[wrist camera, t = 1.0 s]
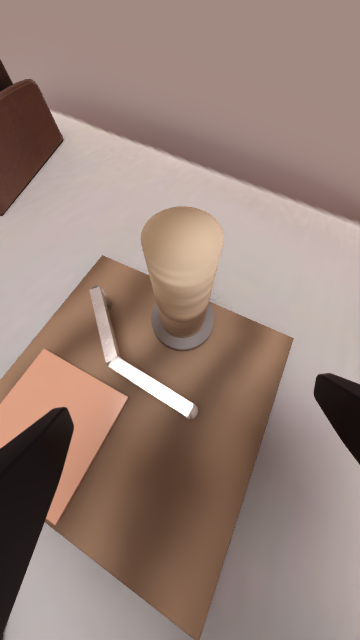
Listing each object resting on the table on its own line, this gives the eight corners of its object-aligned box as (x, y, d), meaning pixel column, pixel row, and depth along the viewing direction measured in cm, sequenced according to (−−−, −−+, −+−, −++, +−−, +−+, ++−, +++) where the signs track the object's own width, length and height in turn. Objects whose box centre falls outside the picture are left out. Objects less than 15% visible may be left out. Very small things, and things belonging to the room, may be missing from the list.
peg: (221, 309, 22) (259, 215, 11) (197, 362, 20) (213, 308, 9) (170, 287, 24) (159, 182, 13) (141, 334, 21) (97, 257, 10)
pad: (129, 397, 19) (128, 397, 19) (58, 521, 16) (54, 525, 15) (46, 349, 21) (43, 348, 20) (-33, 451, 18) (-39, 452, 17)
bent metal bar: (198, 410, 19) (201, 411, 15) (166, 440, 18) (162, 448, 14) (108, 298, 23) (96, 280, 20) (79, 317, 22) (62, 302, 19)
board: (288, 341, 22) (293, 338, 21) (197, 627, 14) (198, 642, 13) (105, 260, 26) (102, 255, 26) (-42, 443, 19) (-54, 445, 18)
